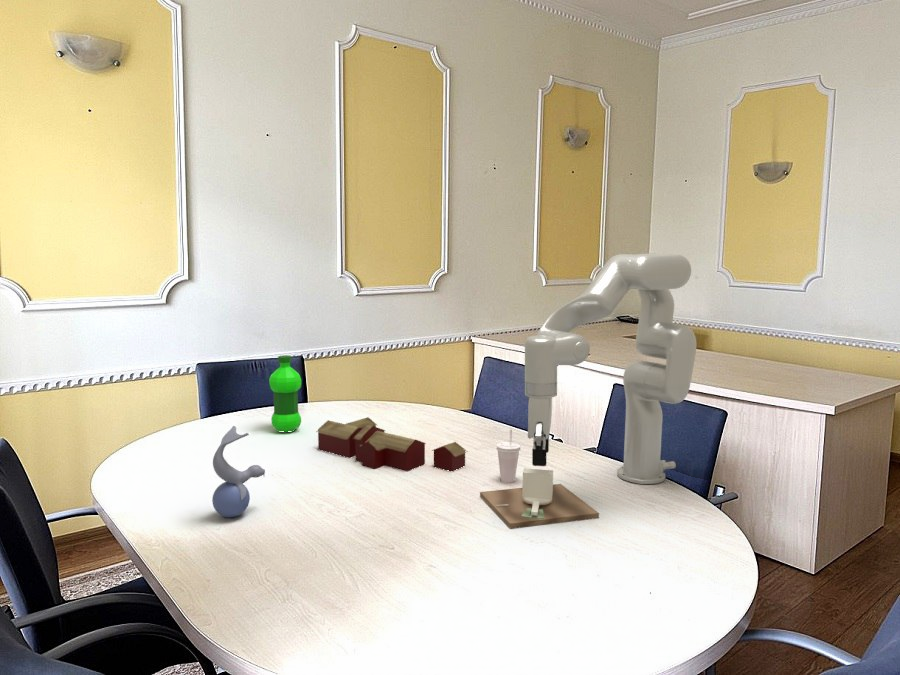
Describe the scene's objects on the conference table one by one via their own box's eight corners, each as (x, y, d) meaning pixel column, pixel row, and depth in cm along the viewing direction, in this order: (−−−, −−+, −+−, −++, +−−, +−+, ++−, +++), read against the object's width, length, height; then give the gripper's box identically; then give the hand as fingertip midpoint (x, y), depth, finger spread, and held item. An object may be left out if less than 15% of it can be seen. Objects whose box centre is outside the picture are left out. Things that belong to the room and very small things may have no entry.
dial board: (560, 488, 179) (560, 482, 179) (598, 517, 160) (599, 512, 160) (479, 496, 173) (480, 491, 172) (510, 528, 154) (510, 522, 154)
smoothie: (518, 485, 181) (519, 433, 179) (494, 483, 182) (495, 431, 180) (521, 477, 187) (522, 426, 185) (497, 475, 188) (498, 425, 186)
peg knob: (524, 493, 170) (524, 465, 169) (552, 495, 169) (553, 467, 168) (518, 514, 157) (519, 484, 156) (549, 517, 156) (550, 487, 155)
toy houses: (311, 452, 208) (310, 420, 206) (359, 437, 224) (359, 406, 223) (429, 485, 181) (429, 448, 180) (474, 465, 197) (474, 430, 196)
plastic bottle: (299, 435, 224) (297, 359, 221) (266, 435, 225) (264, 358, 221) (305, 427, 234) (304, 354, 231) (274, 426, 235) (272, 353, 231)
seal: (273, 512, 161) (271, 429, 159) (221, 526, 154) (217, 438, 151) (258, 501, 168) (255, 421, 165) (207, 514, 160) (203, 430, 157)
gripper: (527, 380, 171) (527, 446, 174) (521, 397, 155) (521, 470, 157) (558, 380, 170) (558, 447, 173) (555, 398, 153) (555, 472, 156)
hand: (540, 458), depth 165 cm, fingers open, 9 cm apart
